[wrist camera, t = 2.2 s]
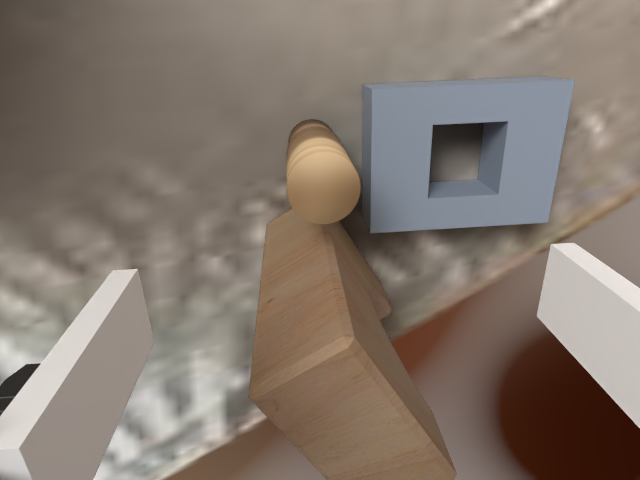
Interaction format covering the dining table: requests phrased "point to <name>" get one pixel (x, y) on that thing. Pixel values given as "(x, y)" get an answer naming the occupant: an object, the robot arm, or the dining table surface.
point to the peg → (320, 174)
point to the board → (495, 158)
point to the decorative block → (337, 361)
